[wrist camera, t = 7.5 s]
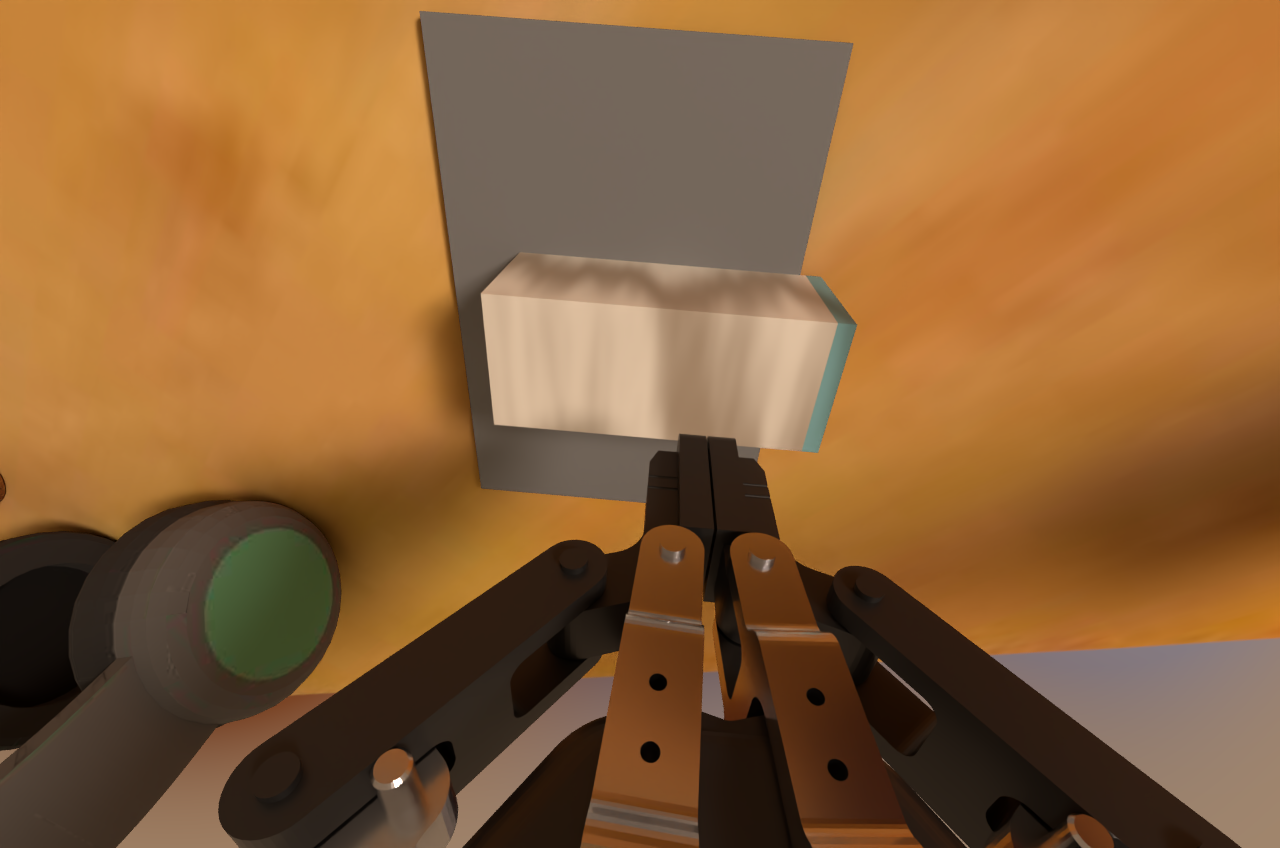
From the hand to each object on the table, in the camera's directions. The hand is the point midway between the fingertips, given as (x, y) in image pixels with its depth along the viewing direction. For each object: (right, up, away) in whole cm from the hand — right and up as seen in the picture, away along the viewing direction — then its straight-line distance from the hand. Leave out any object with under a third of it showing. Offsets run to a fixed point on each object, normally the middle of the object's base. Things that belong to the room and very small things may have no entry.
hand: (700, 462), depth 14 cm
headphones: (-28, -6, +18) cm, 34 cm away
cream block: (+5, +3, +6) cm, 9 cm away
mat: (-2, +6, +8) cm, 10 cm away
